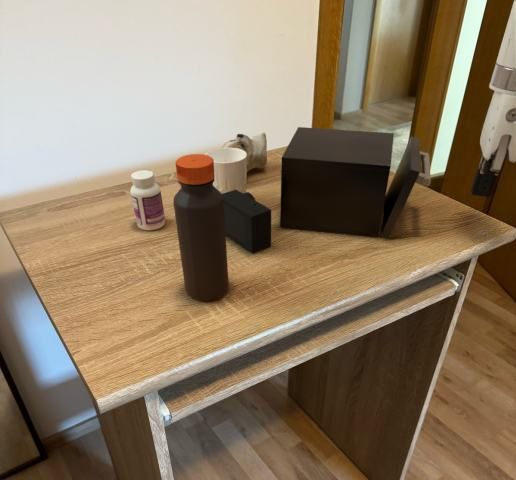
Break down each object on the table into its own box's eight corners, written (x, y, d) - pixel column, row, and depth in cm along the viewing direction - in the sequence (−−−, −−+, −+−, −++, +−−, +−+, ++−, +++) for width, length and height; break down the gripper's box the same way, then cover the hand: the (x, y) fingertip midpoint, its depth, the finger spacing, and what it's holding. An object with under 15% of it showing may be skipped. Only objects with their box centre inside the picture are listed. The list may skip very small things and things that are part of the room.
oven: (382, 199, 99) (394, 133, 90) (378, 237, 87) (390, 165, 78) (295, 191, 102) (298, 126, 93) (280, 227, 90) (281, 157, 82)
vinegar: (206, 272, 79) (194, 147, 66) (238, 287, 76) (231, 158, 63) (176, 291, 75) (156, 162, 62) (207, 307, 72) (194, 175, 59)
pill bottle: (169, 218, 93) (162, 169, 87) (161, 232, 90) (152, 181, 83) (142, 217, 94) (133, 167, 88) (133, 230, 90) (122, 179, 84)
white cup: (202, 210, 96) (197, 159, 89) (219, 194, 101) (216, 145, 95) (238, 216, 94) (236, 165, 87) (254, 199, 99) (253, 150, 93)
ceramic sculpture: (280, 130, 104) (223, 151, 98) (281, 170, 110) (228, 192, 104) (249, 119, 110) (194, 138, 104) (252, 157, 116) (200, 177, 110)
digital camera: (277, 244, 86) (277, 207, 81) (252, 254, 83) (251, 216, 79) (242, 222, 92) (241, 186, 87) (218, 231, 89) (216, 195, 85)
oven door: (404, 204, 98) (433, 143, 89) (403, 243, 87) (436, 177, 78) (384, 198, 98) (411, 136, 90) (380, 236, 87) (410, 169, 78)
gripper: (555, 94, 67) (508, 215, 80) (535, 68, 78) (497, 179, 91) (498, 90, 69) (461, 210, 81) (486, 65, 80) (455, 175, 92)
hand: (480, 193), depth 86 cm, fingers closed
